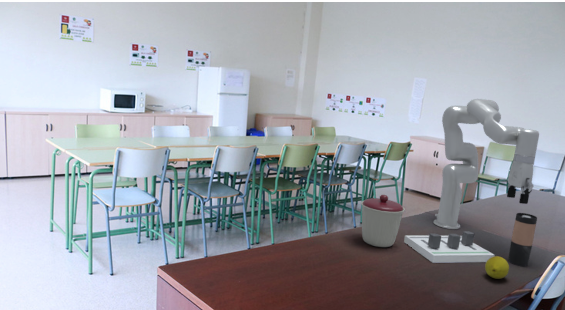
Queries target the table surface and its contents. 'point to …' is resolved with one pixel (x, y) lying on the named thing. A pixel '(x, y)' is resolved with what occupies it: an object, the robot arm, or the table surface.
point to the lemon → (497, 267)
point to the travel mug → (522, 239)
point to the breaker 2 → (453, 240)
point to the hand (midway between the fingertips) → (516, 200)
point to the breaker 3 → (467, 238)
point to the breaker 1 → (434, 240)
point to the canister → (380, 221)
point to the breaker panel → (448, 251)
